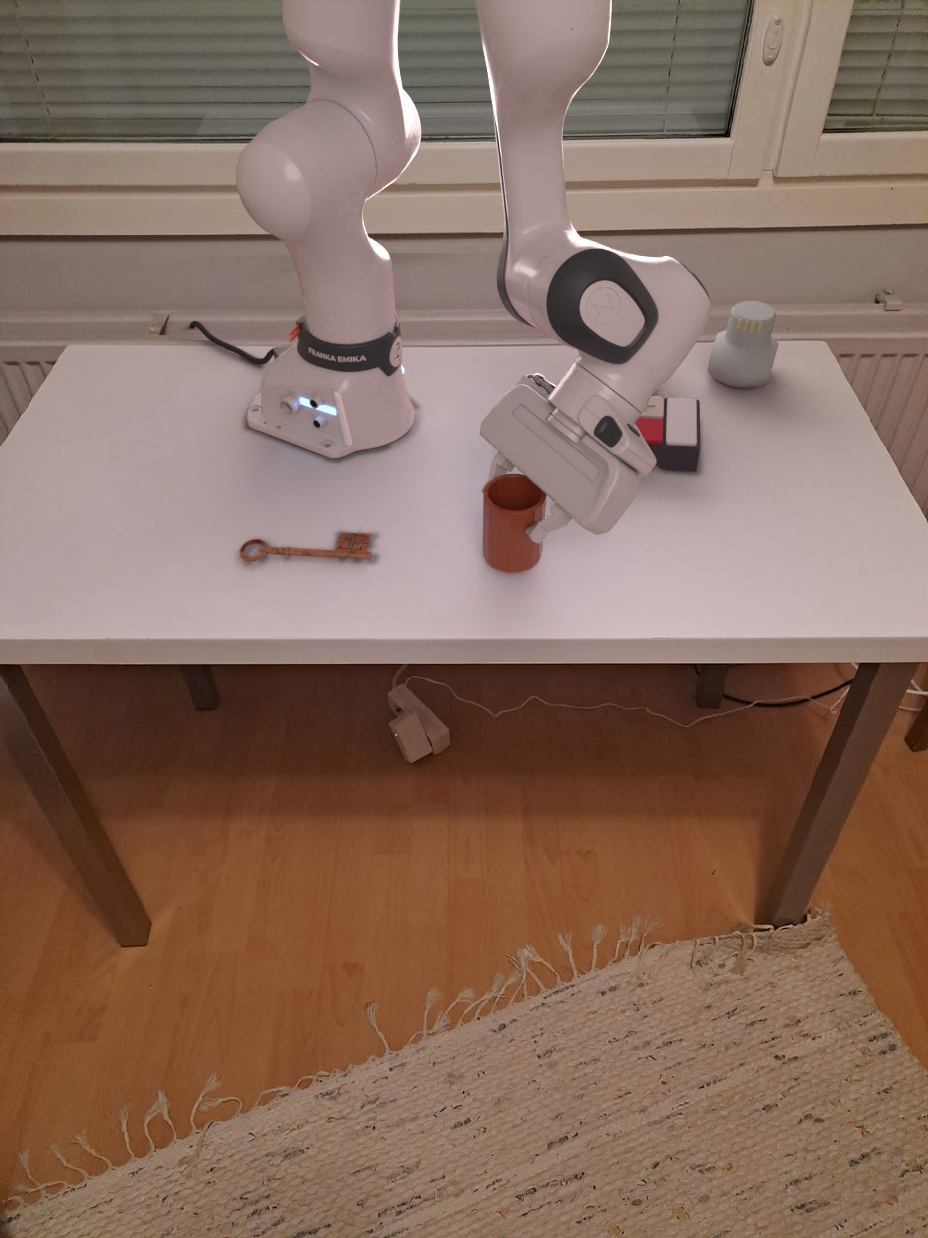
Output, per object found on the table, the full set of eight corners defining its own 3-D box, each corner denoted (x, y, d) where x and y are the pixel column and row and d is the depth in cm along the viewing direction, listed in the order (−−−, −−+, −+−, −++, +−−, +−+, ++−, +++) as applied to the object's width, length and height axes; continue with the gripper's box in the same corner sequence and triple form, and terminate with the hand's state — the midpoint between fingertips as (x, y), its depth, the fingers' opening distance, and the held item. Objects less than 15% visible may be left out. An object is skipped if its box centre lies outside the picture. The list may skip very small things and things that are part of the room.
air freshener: (762, 402, 124) (780, 335, 117) (701, 391, 126) (715, 324, 119) (773, 362, 131) (791, 296, 124) (716, 352, 133) (729, 286, 126)
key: (375, 538, 107) (249, 532, 107) (375, 532, 106) (248, 525, 107) (368, 569, 102) (236, 562, 103) (367, 563, 102) (235, 556, 102)
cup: (474, 564, 101) (474, 505, 95) (493, 527, 105) (495, 468, 99) (531, 578, 99) (535, 519, 93) (548, 540, 104) (553, 481, 97)
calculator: (584, 389, 120) (700, 393, 118) (583, 417, 124) (696, 421, 121) (577, 437, 113) (701, 443, 111) (576, 466, 116) (697, 472, 114)
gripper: (515, 353, 98) (439, 458, 102) (640, 450, 86) (549, 564, 90) (546, 377, 103) (473, 476, 106) (668, 472, 91) (581, 579, 95)
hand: (509, 517), depth 98 cm, fingers closed on cup, 7 cm apart
